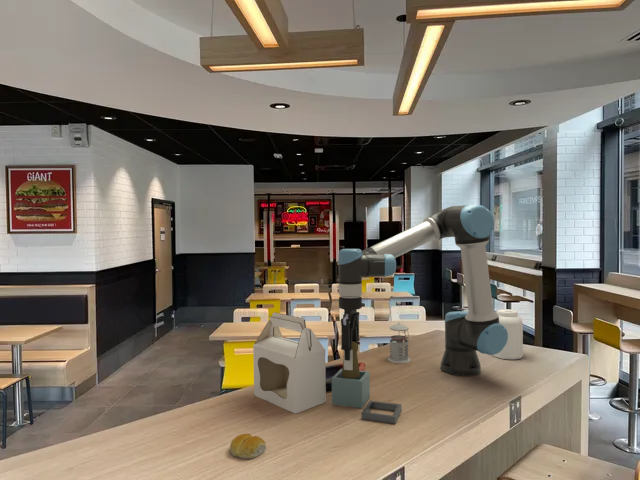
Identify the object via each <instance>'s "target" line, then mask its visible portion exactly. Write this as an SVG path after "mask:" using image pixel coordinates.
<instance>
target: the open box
mask: <svg viewBox="0 0 640 480" xmlns="http://www.w3.org/2000/svg"><path fill="white" fill-rule="evenodd" d="M359 372H360V376H359V377H358V378H345V377H342V369H340V370H339V371H338V372H337V373H336V374H335V375H334V376H333V377H332V389H331V405H335V406H341V407H349V408H350V407H351V408H359V409H363V408H364V407H365V406H366V405H365V404H366V403H368V400H369V399H370V397H371V395H370V394H371V390H370V389H371V387H370V386H371V385H370V383H371V381H370V378H371V377H370V375H371V374H370V373H371V372H370V371H366V370H365V371H359Z"/></svg>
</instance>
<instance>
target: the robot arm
mask: <svg viewBox="0 0 640 480" xmlns="http://www.w3.org/2000/svg"><path fill="white" fill-rule="evenodd" d="M494 228H495V219H494V217H493V214H492V212H491V211H490V210H489V209H488V208H487V207H486V206H483V205H481V204H473V203H471V204H465V205H451V206H449V207H446V208H443V209H441V210H439V211H437V212H435V213H433V214H432V215H429V216H427V217H425V218H424V219H423V222H421V223H419V224H416V225H415V226H412V227H410V228H408V229H406V230H404V231H402V232H400V233H397V234H396V235H395V234H394V236H391V237H389V238H387V239H384V240H382V241H380V242H378V243H376V244H374V245H372V246H370V247H367V248H365V249H363V250H362V249H360V248H342V249H340V250H339V251H338V259H337V260H338V262H337V264H338V265H337V266H338V285H337V289H338V295H339V297H338V308H339V310H340V309H341V310H344V312H343V314H342V315H343V316H342V318H340V325H341V329H340V330H341V342H340V343H341V345H340V346H341V347H340V349H341V350H342V351H343V350H344V351H343V360H344V370H353V350H351V349H352V348H351V347H352V341H353V342H356V343H357V344H358V346H360V344H361V343H360V312H359V311H358V310H360V309H362V307H363V298H362V295H363V282H362V281H363V278H378V277H382V278H383V277H384V278H386V277H392V276H393V275H395V274H396V270H397V261H396V258H398V257H400V256H402V255H404V254H407V253H408V252H409V253H410V251H413V250H414V249H416V248H419V247H421V246H424V245H425V244H427V243H429V242H437V241H440V240H442V239H445V238H454V243H455V245H456V246H457V247H458V248H459V249H460V253H461V254H460V256H461V262H462V270H463V271H462V272H463V278H464V279H463V280H464V285H465V287H464V288H465V294H466V301H467V302H466V303H467V308H468V310H463V311H462V310H461V311H457V310H456V311H449V312H447V313H446V314H445V317H444V344H445V345H444V353H443V354H442V358H441V361H440V370H441V371H442V372H444V373H447V374H449V375H455V376H464V377H465V376H466V377H467V376H475V375H479V374H480V373H481V371H482V366H481V362H480V359H479V355H478V353H477V352H479V353H480V354H484V355H488V356H493V355H495V354H497V353H499V352H500V351H502V350H503V348H504V346H505V345H506V343H507V340H508V332H507V330H506V328H505V327H504V326H503V325H501V324H500V323H499V316H498V314H497V313H496V312H497V311H494V306H493V297H492V290H491V289H492V288H491V282H490V281H491V280H490V272H489V263H488V257H487V247H486V245H487V244H488V243H489V242H490V235H491V234H492V232H493V230H494Z"/></svg>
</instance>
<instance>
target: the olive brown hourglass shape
mask: <svg viewBox="0 0 640 480" xmlns="http://www.w3.org/2000/svg"><path fill="white" fill-rule="evenodd" d="M359 346H360V345H358V344H357V343H356V342H353V341H352V347H351V348H352V349H351V350H353V370H344V359H342V361H343V362H342V363H343V368H342V377H345V378H358V377H359V376H360V372H359V364H358V363H359V358H358V351H359ZM342 351H343V352H344V350H342Z"/></svg>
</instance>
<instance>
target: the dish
mask: <svg viewBox="0 0 640 480" xmlns="http://www.w3.org/2000/svg"><path fill="white" fill-rule="evenodd" d="M358 364H359V371H366V363H365V362H362V361H361V362H360V361H359V362H358ZM342 368H343V362H342V363H334V364H328V365H325V372H326V391H327V390H332V377H333V376H334V375H335V374H336V373H337V372H338V371H339V370H340V369H342Z"/></svg>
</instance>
